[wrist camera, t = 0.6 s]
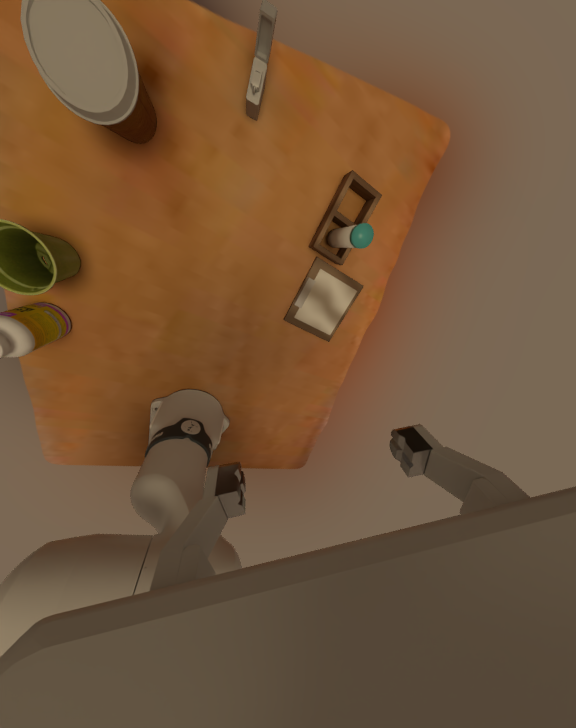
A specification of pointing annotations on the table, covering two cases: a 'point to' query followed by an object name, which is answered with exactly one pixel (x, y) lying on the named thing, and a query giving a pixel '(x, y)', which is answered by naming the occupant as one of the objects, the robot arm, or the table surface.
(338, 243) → the marker
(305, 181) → the table surface
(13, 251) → the plant pot
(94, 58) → the disposable coffee cup
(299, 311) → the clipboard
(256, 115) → the lighter
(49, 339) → the supplement bottle
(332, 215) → the box
